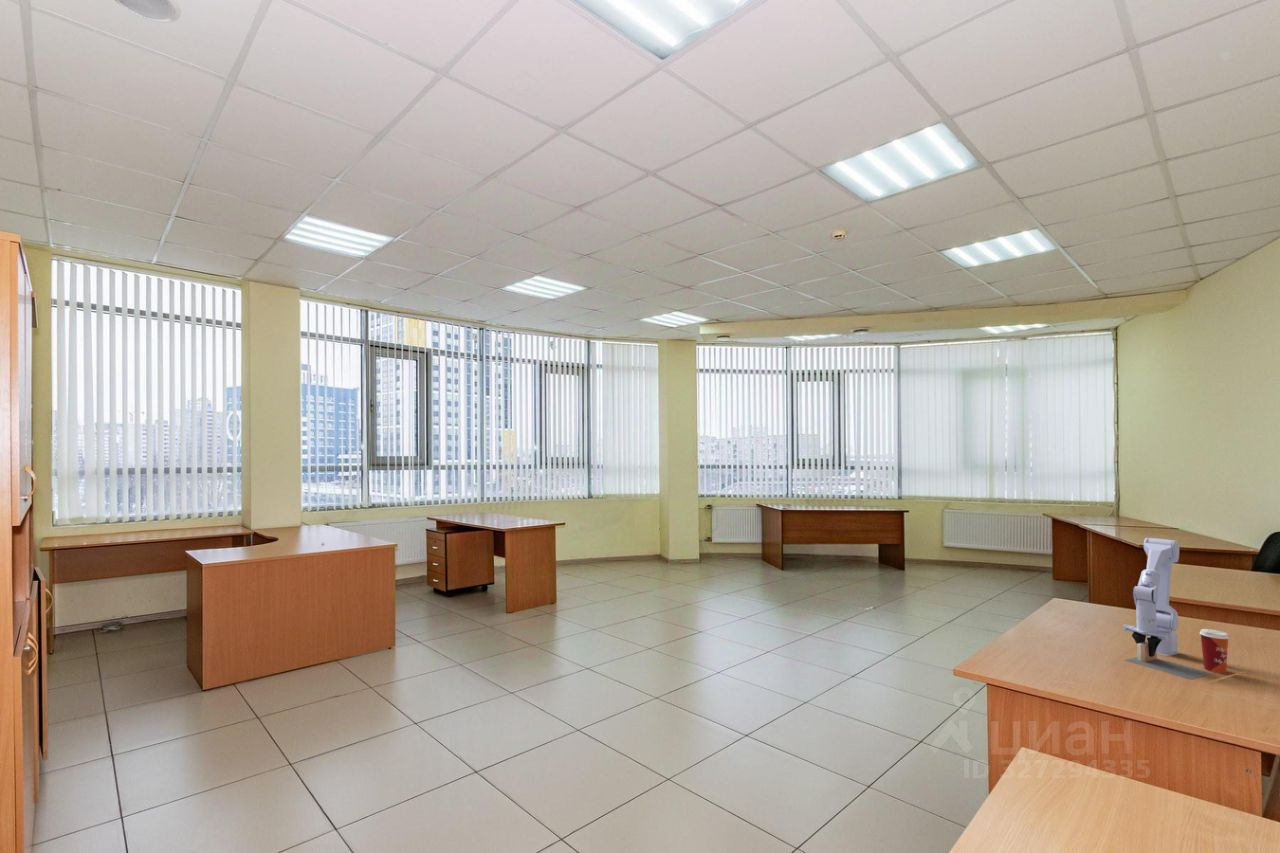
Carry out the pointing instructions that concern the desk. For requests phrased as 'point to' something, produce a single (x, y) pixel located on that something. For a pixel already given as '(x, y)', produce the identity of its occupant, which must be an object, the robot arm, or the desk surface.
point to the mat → (1171, 668)
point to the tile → (1144, 652)
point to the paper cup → (1214, 650)
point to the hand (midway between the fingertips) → (1147, 654)
